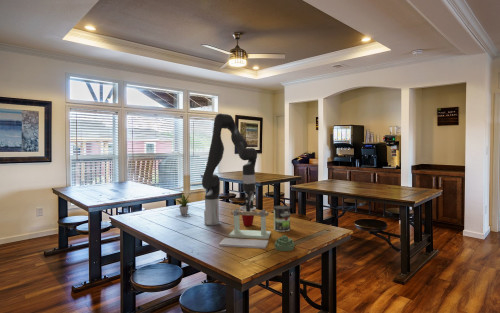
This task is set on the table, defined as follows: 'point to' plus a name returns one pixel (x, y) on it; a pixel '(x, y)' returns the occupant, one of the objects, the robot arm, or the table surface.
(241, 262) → the table surface
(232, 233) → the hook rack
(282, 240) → the decorative artifact
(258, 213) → the rail
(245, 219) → the plastic cup
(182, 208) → the house plant
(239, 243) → the mat
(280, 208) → the coffee can
